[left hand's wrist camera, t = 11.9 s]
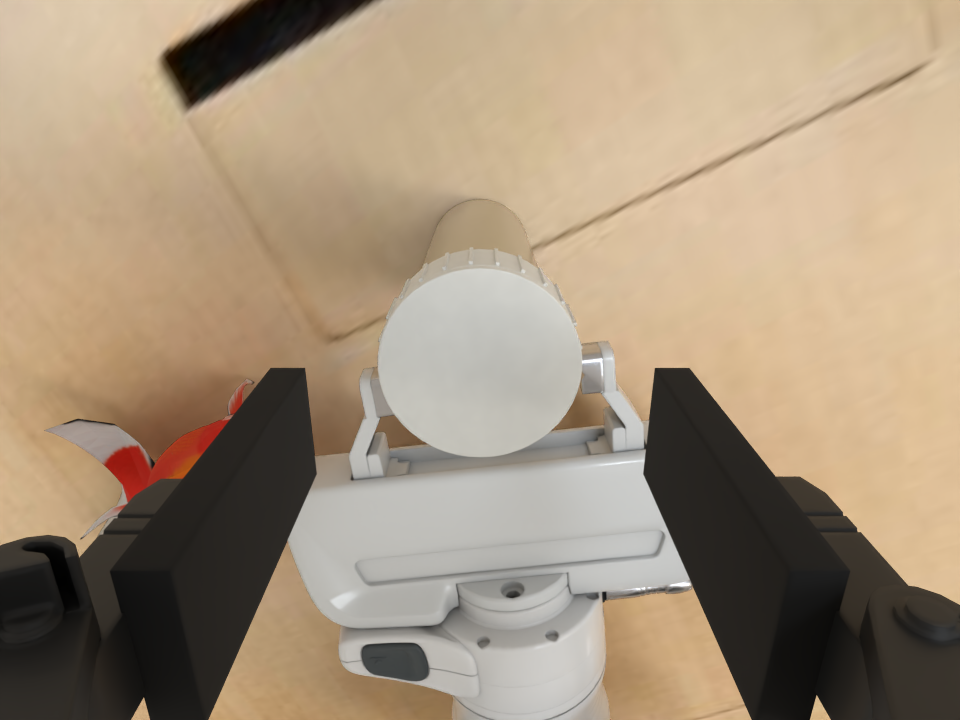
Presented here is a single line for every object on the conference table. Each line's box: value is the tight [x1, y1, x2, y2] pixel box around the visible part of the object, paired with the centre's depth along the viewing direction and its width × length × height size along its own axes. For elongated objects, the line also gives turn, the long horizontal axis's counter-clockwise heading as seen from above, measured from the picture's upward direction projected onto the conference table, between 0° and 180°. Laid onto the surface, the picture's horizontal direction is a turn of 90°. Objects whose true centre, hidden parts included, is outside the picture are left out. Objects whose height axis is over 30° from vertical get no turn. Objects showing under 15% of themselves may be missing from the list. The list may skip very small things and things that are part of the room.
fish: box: [44, 379, 254, 539], centre depth 33 cm, size 11×16×10 cm
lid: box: [378, 247, 582, 457], centre depth 18 cm, size 6×6×2 cm
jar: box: [422, 199, 538, 268], centre depth 25 cm, size 5×5×15 cm
